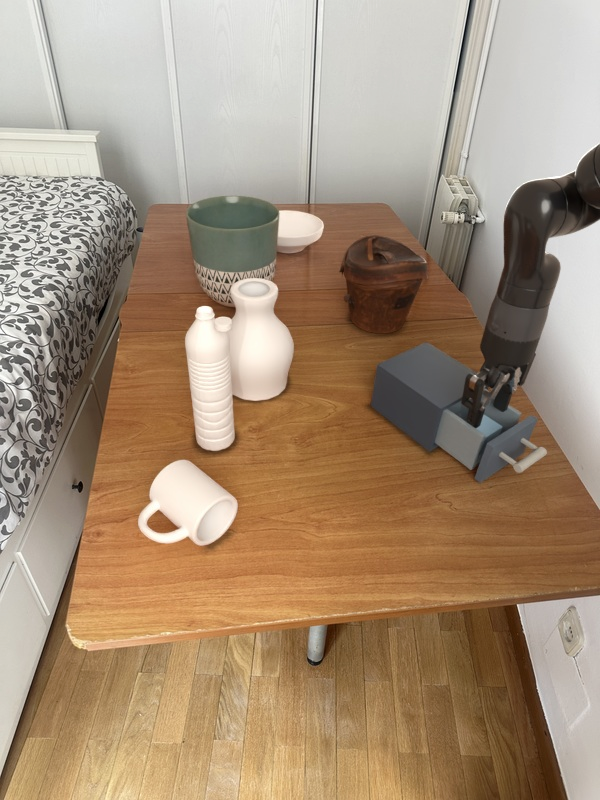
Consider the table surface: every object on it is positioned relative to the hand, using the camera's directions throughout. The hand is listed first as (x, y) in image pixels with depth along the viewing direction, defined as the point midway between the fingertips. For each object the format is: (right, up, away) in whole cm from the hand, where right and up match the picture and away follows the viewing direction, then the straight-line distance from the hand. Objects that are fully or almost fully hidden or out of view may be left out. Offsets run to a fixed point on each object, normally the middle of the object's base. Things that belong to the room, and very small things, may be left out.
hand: (486, 416), depth 86 cm
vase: (-38, +6, +18) cm, 43 cm away
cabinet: (-7, 0, +12) cm, 14 cm away
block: (0, -5, +4) cm, 6 cm away
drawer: (0, -6, +4) cm, 7 cm away
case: (-12, +21, +38) cm, 45 cm away
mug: (-46, -16, -9) cm, 50 cm away
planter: (-45, +26, +42) cm, 67 cm away
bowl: (-33, +46, +67) cm, 88 cm away
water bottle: (-43, -5, +5) cm, 44 cm away
